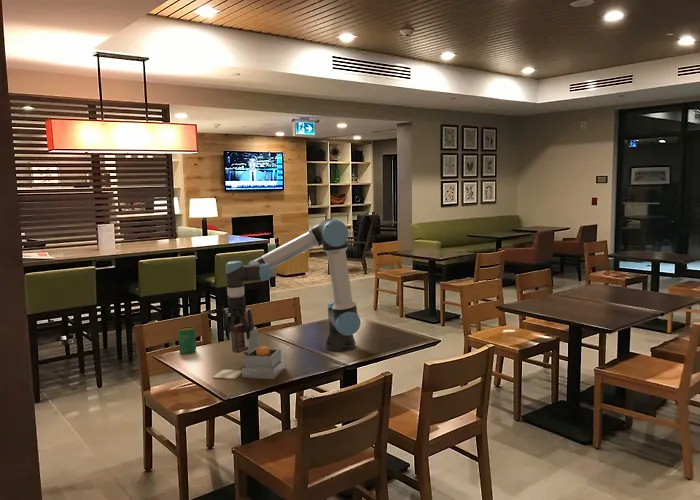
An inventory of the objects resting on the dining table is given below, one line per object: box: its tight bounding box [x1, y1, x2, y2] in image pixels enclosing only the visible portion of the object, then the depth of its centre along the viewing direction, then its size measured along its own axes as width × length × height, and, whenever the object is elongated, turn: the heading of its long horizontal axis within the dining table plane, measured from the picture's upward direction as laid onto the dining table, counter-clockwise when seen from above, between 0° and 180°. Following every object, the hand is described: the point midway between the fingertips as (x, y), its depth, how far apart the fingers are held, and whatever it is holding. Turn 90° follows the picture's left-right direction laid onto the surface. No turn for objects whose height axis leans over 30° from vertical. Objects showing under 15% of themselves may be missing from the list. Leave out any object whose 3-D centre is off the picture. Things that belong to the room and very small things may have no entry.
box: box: [230, 323, 248, 354], centre depth 254 cm, size 6×4×12 cm
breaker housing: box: [241, 348, 285, 380], centre depth 244 cm, size 14×14×9 cm
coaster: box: [212, 369, 242, 381], centre depth 242 cm, size 10×10×1 cm
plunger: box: [256, 345, 270, 356], centre depth 243 cm, size 6×6×4 cm
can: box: [243, 326, 260, 354], centre depth 275 cm, size 8×8×12 cm
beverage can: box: [177, 326, 197, 355], centre depth 276 cm, size 8×8×12 cm
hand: (239, 345), depth 255 cm, fingers closed on box, 6 cm apart
